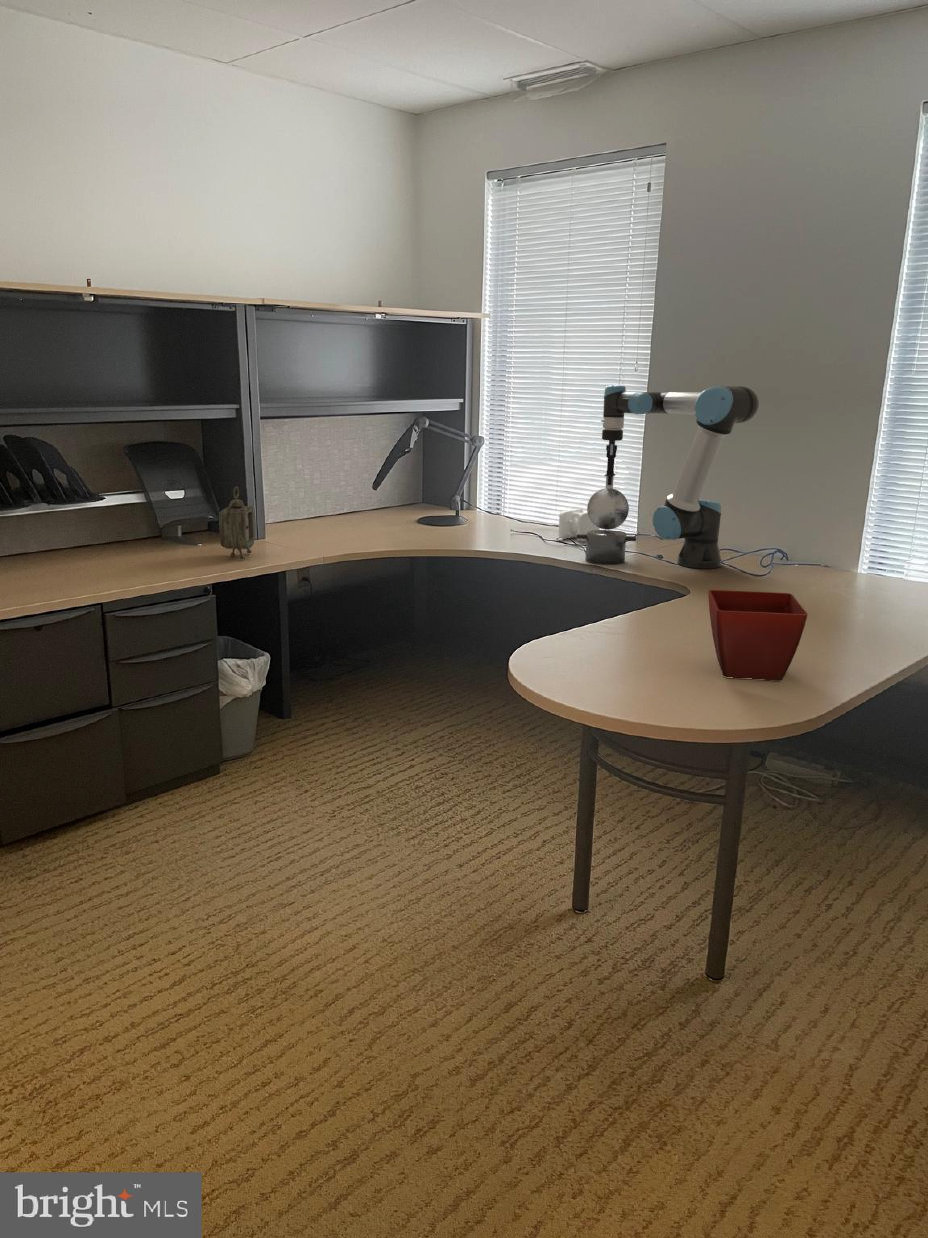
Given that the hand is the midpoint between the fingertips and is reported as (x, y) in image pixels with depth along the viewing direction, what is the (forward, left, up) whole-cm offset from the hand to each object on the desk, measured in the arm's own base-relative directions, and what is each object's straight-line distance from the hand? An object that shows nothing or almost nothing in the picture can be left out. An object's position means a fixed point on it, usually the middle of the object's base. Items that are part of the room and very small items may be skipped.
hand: (608, 493), depth 334 cm
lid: (-4, +8, -4) cm, 10 cm away
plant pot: (-96, +100, -22) cm, 140 cm away
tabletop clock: (+91, +101, -22) cm, 137 cm away
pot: (-8, +15, -22) cm, 28 cm away
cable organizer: (+22, -15, -22) cm, 35 cm away
